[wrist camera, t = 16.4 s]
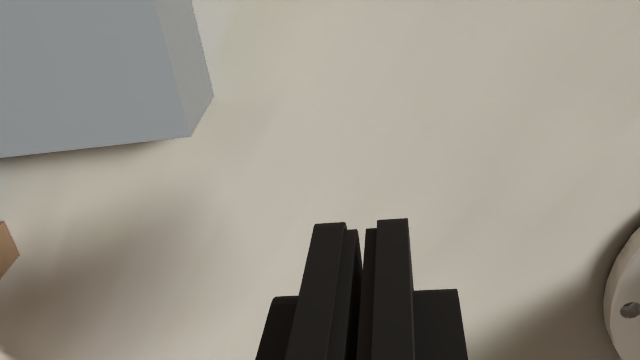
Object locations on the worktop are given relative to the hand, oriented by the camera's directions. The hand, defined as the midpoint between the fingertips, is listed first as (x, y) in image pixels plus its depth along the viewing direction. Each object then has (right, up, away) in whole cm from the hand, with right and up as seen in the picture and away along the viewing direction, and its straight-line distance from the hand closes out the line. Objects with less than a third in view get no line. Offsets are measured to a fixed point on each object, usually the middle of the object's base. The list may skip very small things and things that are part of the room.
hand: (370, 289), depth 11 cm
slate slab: (-13, +7, +12) cm, 19 cm away
